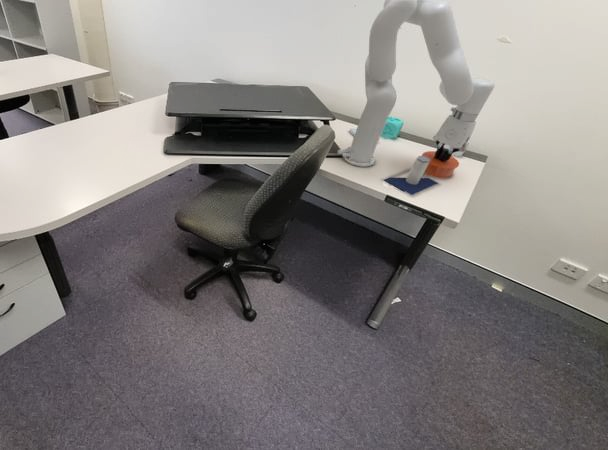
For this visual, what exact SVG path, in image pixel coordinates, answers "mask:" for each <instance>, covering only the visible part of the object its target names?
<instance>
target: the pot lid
mask: <svg viewBox="0 0 608 450" xmlns="http://www.w3.org/2000/svg"><path fill="white" fill-rule="evenodd" d="M448 151H449V149H446V148H443V149H442V150H441V152H440V154H439V156H438V158H434V157H435V153H436V150H435V151H434V150H432V151H431V150H428V151H425V152H422V154H421V156H425V157H428V158H429V159H430V162H429V164H431V165H433V166H436V167H439V168H444V169H454V168H455V169H457V168H458V167H460V162H459V160H458V159H456V158H455V156H453V155H451V157H450V159H449V160H447V161H444V162H442V159H443V157H444V156H445V154H446V153H447V152H448ZM455 169H454V170H455Z"/></svg>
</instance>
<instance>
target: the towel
mask: <svg viewBox="0 0 608 450" xmlns="http://www.w3.org/2000/svg"><path fill="white" fill-rule="evenodd" d="M406 178H407V177H392V176H391V177H390V176H389V177H387V178H385V179H384V182H386V183H387V184H390V185H392V186H393V187H395V188H397V189H398V190H400V191H402V192H404V193H407V194H409V195H411V196H413V195H415V194H418V193H420V192H422V191H424V190H427V189H429V188H431V187H433V186H436V185H438V184H439V182H437V181H435V180H434V179H431V178H430V177H421V179H420V181H419V183H418V184H416V185H413V184H410V183H408V182H406Z"/></svg>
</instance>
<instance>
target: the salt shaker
mask: <svg viewBox="0 0 608 450" xmlns="http://www.w3.org/2000/svg"><path fill="white" fill-rule="evenodd" d="M429 162H430V159H429V158H428V157H425V156H422V155H418V156H417V157H416V158H415V159H414V162H413V164H412V166H411V168H410V171H409V172H408V174H407V176H406V177H405V178H406V182H408V183H410V184H413V185H416V184H418V183H419V181H420V179H421V178H423V175H424V174H425V173H424V172H425V170H426V168H427V166H428V164H429Z"/></svg>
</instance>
